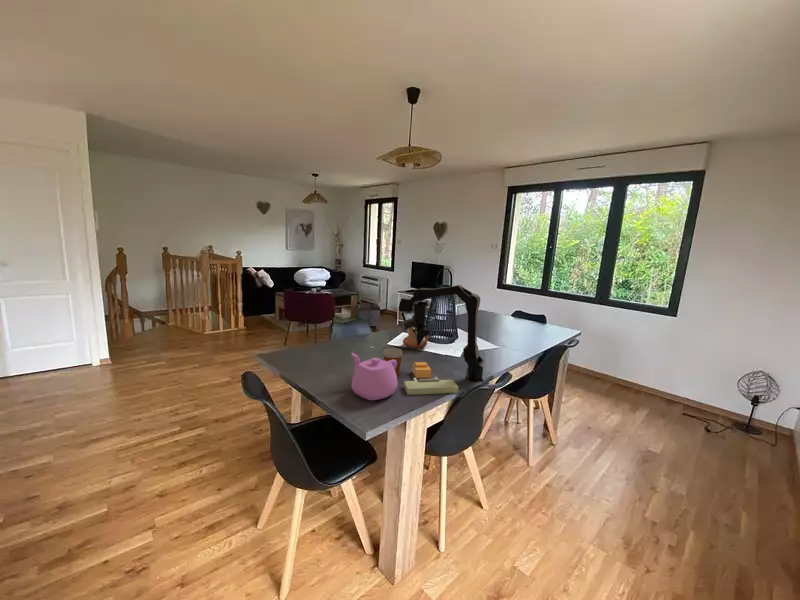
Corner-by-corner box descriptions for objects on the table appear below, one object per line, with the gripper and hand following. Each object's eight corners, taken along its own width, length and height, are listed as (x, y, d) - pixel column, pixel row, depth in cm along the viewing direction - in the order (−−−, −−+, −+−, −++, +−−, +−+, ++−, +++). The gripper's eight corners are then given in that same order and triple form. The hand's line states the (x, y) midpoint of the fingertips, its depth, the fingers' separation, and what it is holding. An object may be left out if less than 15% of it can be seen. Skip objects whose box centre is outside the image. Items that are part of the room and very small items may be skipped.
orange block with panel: (426, 371, 176) (426, 361, 175) (430, 377, 168) (431, 367, 167) (412, 371, 174) (412, 362, 174) (416, 378, 167) (416, 367, 166)
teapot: (409, 391, 152) (410, 357, 150) (372, 406, 137) (374, 369, 134) (372, 375, 168) (373, 344, 165) (335, 388, 152) (336, 354, 149)
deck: (447, 379, 167) (448, 373, 166) (458, 392, 153) (458, 385, 152) (401, 381, 162) (401, 374, 162) (407, 394, 149) (407, 387, 148)
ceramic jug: (396, 345, 216) (397, 322, 213) (412, 341, 226) (413, 319, 223) (418, 353, 203) (419, 329, 200) (434, 348, 213) (436, 325, 210)
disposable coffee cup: (384, 379, 164) (385, 354, 162) (379, 371, 173) (380, 347, 171) (404, 378, 166) (405, 353, 164) (398, 370, 175) (399, 346, 173)
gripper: (400, 310, 183) (398, 339, 185) (407, 318, 165) (406, 351, 167) (421, 310, 185) (419, 339, 187) (431, 318, 167) (429, 350, 169)
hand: (418, 344), depth 178 cm, fingers closed
